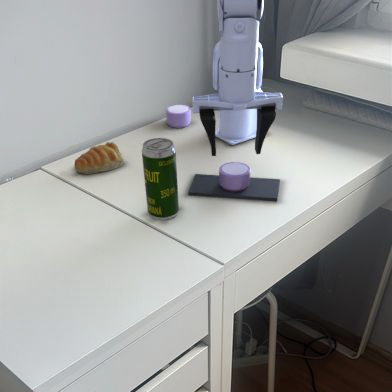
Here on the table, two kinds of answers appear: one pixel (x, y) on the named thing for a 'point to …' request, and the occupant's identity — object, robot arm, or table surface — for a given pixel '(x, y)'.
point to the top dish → (234, 176)
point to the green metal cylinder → (160, 178)
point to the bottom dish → (178, 116)
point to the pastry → (99, 159)
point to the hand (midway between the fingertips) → (235, 152)
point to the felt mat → (254, 191)
